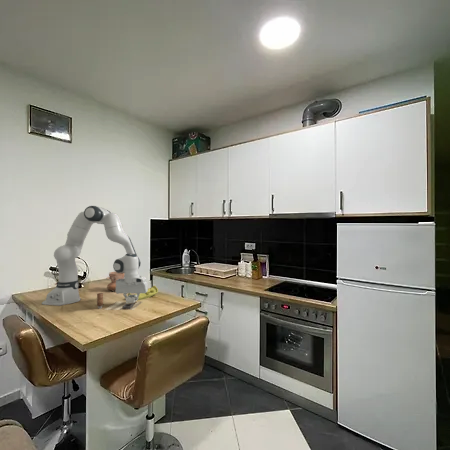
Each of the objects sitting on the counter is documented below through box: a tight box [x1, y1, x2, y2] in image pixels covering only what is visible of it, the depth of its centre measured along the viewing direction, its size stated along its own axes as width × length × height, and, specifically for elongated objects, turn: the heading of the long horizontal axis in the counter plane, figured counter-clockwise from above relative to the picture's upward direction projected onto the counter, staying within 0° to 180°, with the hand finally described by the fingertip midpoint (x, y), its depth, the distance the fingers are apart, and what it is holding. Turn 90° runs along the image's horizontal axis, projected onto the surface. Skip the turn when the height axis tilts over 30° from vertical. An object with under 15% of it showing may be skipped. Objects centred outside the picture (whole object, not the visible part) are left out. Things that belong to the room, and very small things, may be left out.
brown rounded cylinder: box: [96, 292, 104, 310], centre depth 152 cm, size 3×3×10 cm
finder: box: [125, 294, 138, 303], centre depth 161 cm, size 6×5×4 cm
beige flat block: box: [103, 301, 143, 311], centre depth 157 cm, size 18×16×3 cm
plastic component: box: [127, 285, 159, 302], centre depth 176 cm, size 20×7×10 cm
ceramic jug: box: [106, 270, 124, 292], centre depth 200 cm, size 18×14×14 cm
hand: (131, 299), depth 161 cm, fingers closed on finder, 5 cm apart
